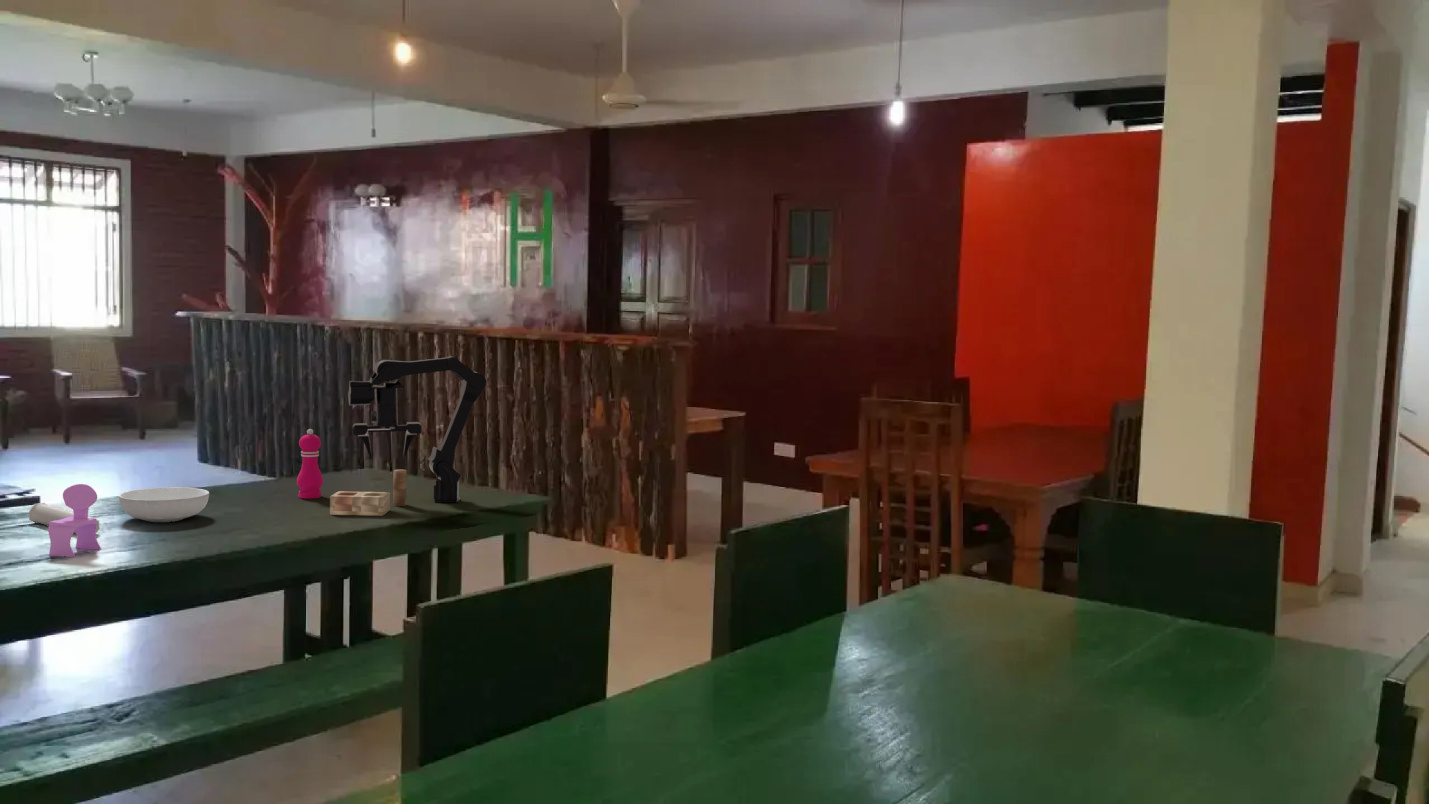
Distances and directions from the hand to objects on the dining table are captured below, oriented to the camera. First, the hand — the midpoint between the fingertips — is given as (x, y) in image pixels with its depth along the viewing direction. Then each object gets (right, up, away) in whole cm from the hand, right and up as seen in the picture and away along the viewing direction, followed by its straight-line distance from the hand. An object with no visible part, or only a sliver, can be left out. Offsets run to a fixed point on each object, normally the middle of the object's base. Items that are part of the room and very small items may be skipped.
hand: (387, 458), depth 312 cm
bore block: (-4, -14, -13) cm, 20 cm away
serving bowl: (-48, -14, -30) cm, 59 cm away
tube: (-65, -15, -46) cm, 81 cm away
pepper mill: (-25, -12, +7) cm, 29 cm away
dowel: (+4, -13, -1) cm, 14 cm away
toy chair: (-49, -18, -69) cm, 87 cm away
